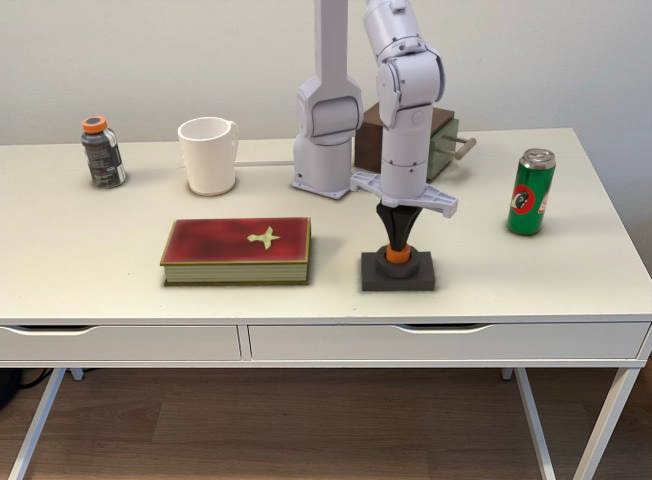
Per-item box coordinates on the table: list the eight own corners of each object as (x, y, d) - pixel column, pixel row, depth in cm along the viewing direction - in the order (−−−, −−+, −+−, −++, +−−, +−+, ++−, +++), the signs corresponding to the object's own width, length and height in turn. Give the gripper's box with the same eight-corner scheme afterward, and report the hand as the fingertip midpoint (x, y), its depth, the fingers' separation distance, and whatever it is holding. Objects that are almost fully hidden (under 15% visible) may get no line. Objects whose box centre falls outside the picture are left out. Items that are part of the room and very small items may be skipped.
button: (386, 264, 91) (387, 253, 90) (385, 251, 94) (386, 240, 92) (410, 264, 91) (411, 253, 90) (408, 250, 93) (409, 240, 92)
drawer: (477, 161, 115) (482, 124, 111) (454, 185, 110) (459, 147, 105) (392, 141, 123) (394, 105, 118) (366, 162, 117) (368, 125, 112)
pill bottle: (133, 177, 120) (118, 116, 112) (110, 191, 117) (93, 130, 109) (109, 170, 123) (93, 110, 115) (86, 184, 119) (68, 123, 111)
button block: (361, 290, 92) (362, 270, 90) (361, 261, 97) (361, 241, 95) (434, 290, 92) (436, 269, 89) (429, 260, 97) (431, 240, 94)
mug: (205, 203, 112) (196, 146, 105) (178, 184, 117) (167, 128, 110) (257, 180, 117) (251, 124, 110) (228, 163, 122) (221, 108, 115)
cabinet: (449, 158, 119) (454, 111, 113) (423, 184, 113) (427, 136, 107) (382, 142, 125) (384, 96, 119) (354, 165, 118) (354, 119, 113)
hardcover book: (179, 239, 104) (174, 216, 102) (311, 237, 103) (310, 213, 100) (164, 286, 96) (159, 262, 93) (308, 284, 94) (307, 260, 91)
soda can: (541, 237, 99) (559, 164, 91) (506, 235, 100) (521, 162, 92) (539, 219, 103) (556, 147, 94) (505, 217, 104) (519, 145, 95)
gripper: (338, 156, 83) (338, 246, 92) (445, 183, 76) (434, 278, 86) (366, 133, 87) (363, 222, 96) (470, 158, 80) (456, 251, 90)
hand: (398, 247), depth 91 cm, fingers closed
